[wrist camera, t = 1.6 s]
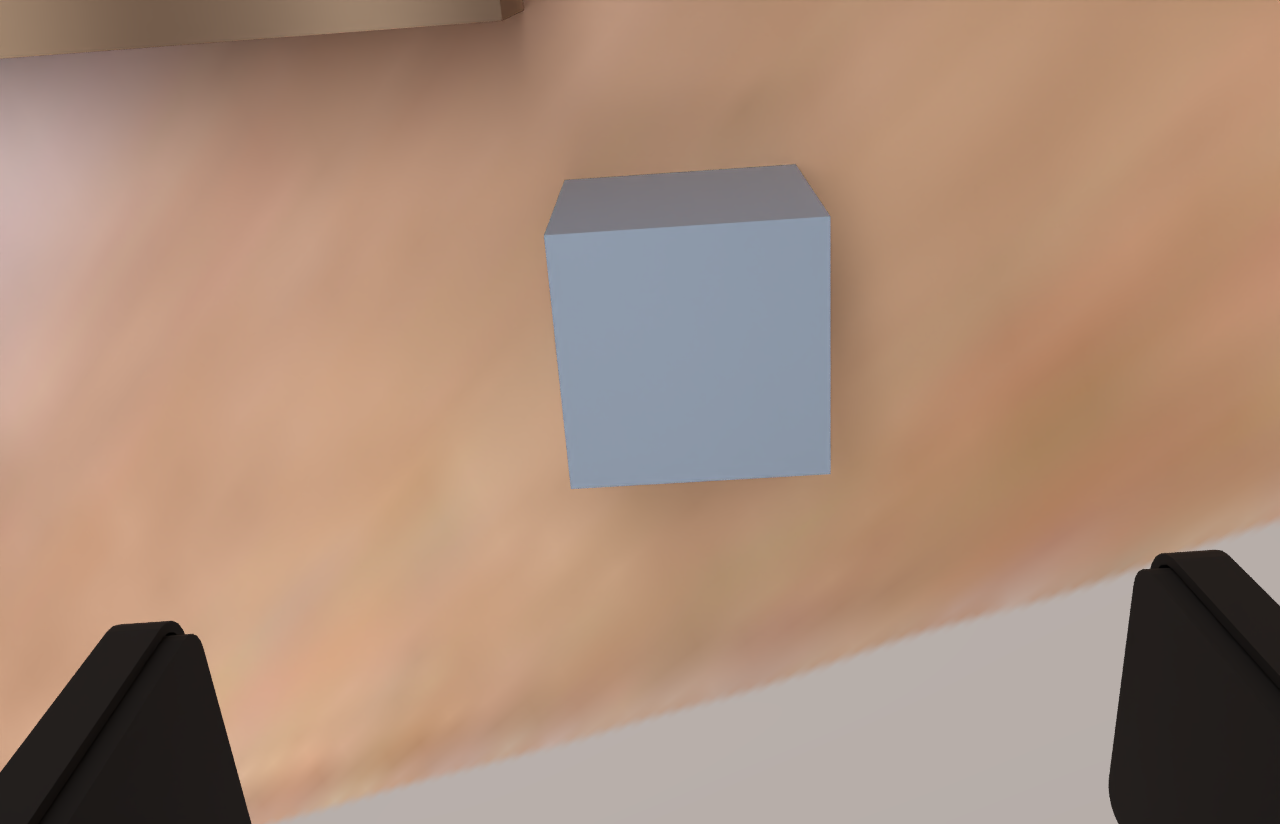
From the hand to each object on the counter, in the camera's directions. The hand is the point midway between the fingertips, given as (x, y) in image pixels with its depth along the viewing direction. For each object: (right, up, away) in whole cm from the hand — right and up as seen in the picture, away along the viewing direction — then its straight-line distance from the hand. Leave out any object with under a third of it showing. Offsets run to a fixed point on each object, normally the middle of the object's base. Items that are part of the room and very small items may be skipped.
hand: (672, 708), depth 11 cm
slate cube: (+1, +6, +14) cm, 15 cm away
